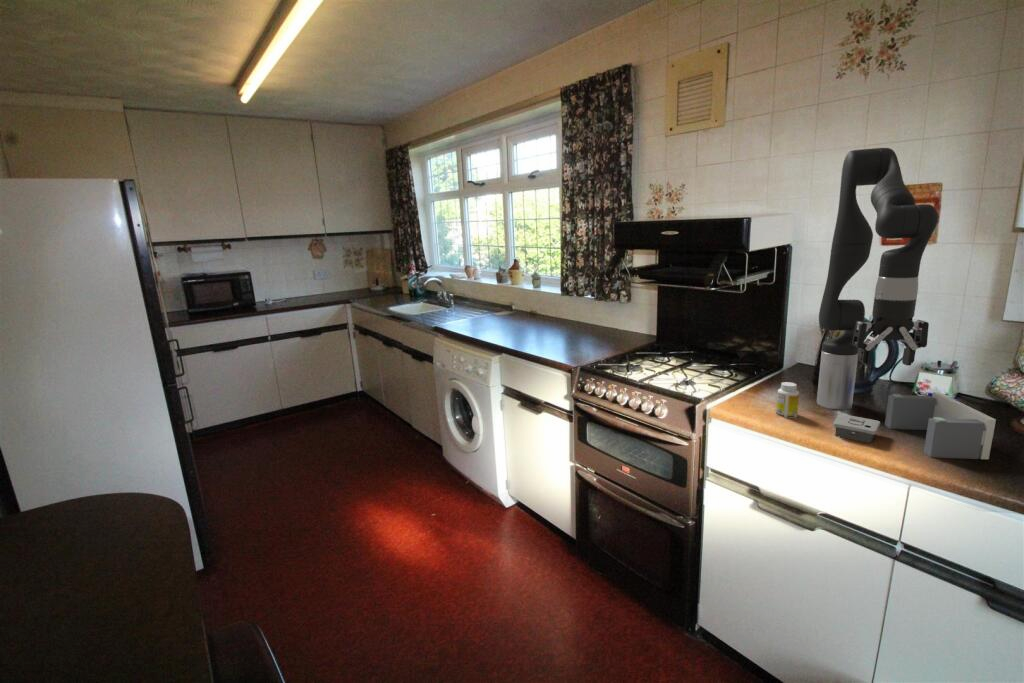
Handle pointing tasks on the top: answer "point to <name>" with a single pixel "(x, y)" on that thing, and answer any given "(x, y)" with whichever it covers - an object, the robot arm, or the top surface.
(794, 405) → the supplement bottle
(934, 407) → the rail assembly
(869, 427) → the electrical switch
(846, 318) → the robot arm
